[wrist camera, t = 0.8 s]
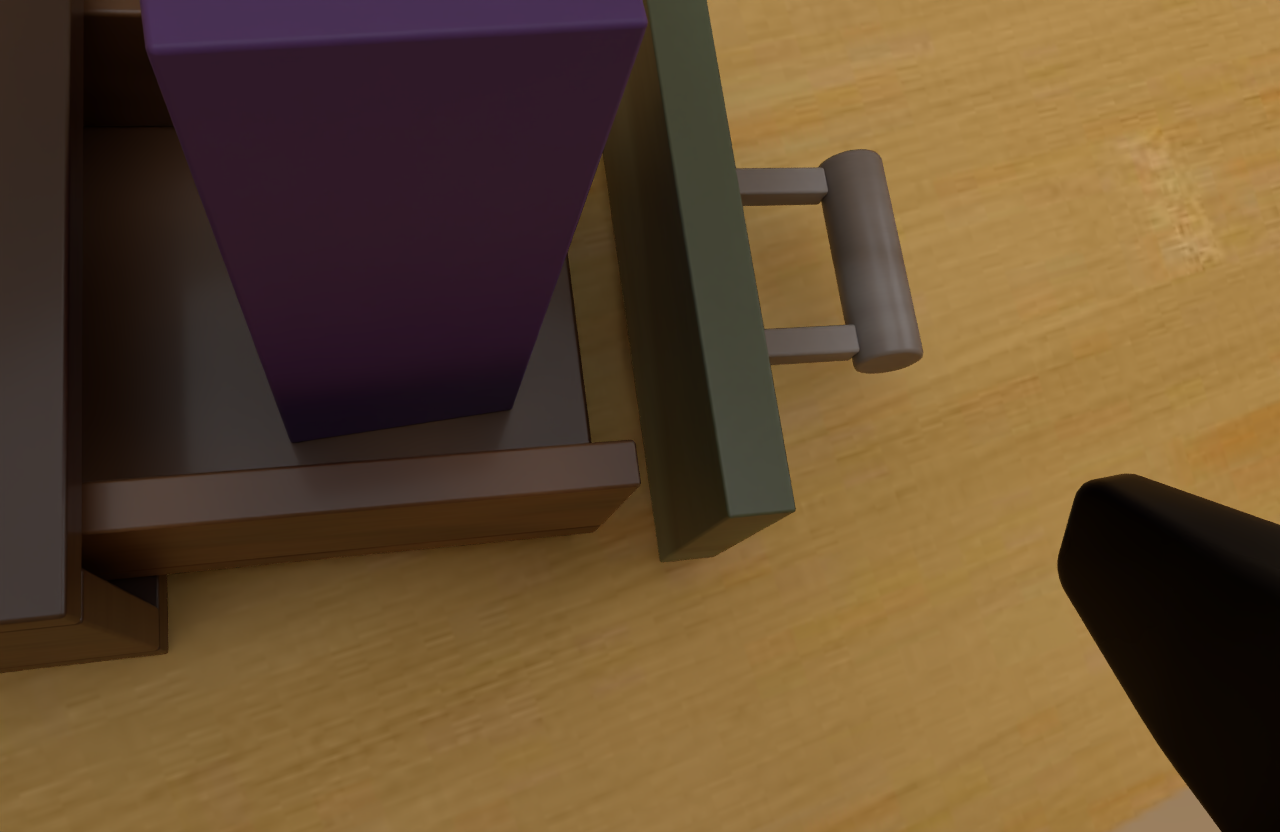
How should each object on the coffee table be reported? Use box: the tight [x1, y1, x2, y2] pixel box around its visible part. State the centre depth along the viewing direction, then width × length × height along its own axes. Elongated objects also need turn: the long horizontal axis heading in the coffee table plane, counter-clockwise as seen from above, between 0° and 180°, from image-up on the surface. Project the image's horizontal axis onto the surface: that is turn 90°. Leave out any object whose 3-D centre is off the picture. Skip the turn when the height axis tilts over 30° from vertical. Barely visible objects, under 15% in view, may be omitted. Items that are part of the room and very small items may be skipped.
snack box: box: [140, 0, 648, 443], centre depth 15 cm, size 5×4×12 cm
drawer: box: [81, 0, 923, 580], centre depth 20 cm, size 17×11×5 cm, turn 98°
